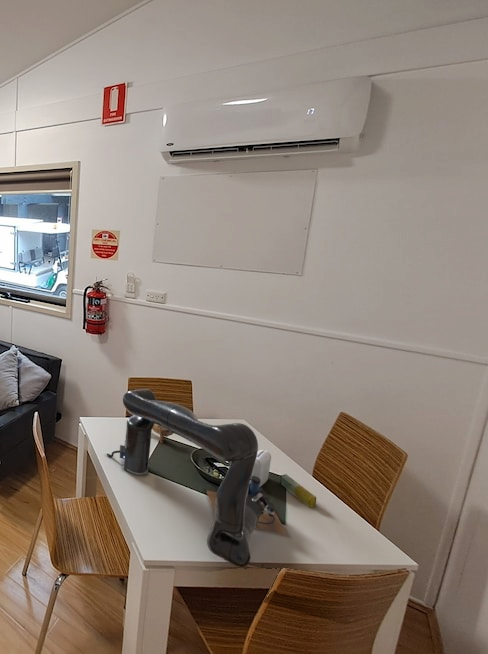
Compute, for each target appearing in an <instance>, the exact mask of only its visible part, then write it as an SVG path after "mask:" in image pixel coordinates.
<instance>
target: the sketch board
mask: <svg viewBox="0 0 488 654" xmlns="http://www.w3.org/2000/svg"><path fill="white" fill-rule="evenodd" d="M205 491H206V494H207V496H208V499H209V502H210V505H211V507H212V510H213V513H214V514H215V502H216V495H217V491H213V490H208V489H206V490H205ZM261 505H262V506H263V507H264V504H263V502H261ZM273 516H274V518H275V520H274V523H271V524H263V523H269V522H272V521H273V517H271V516H269V515H268V513H263V514H261V515H260V517H259V520H258V522H263V523H258V522H257V526H256V527H255V529H258V530H262V531H268V532H271V533H275V534H280V535H284V536H288V535H289V534H288V532H287V530H286V529H285V527H284V525H283V523H282V522H281V520H280V518H279V516H278V515H277V513H276V511H275V510H274V514H273Z"/></svg>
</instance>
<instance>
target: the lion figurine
mask: <svg viewBox="0 0 488 654" xmlns="http://www.w3.org/2000/svg"><path fill="white" fill-rule="evenodd" d="M152 432H154V433H156V434H157V435H159V442H160V443H161V444H163V443H164V441H165V440H166V439H165V438H167V437H170V436H172V435H173V434H174V433H172V432H170V431H168V430H167V429H165V428H163V427H161V426H159V425H157V424H155V423H154V426H153V428H152ZM164 437H165V438H164Z"/></svg>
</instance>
